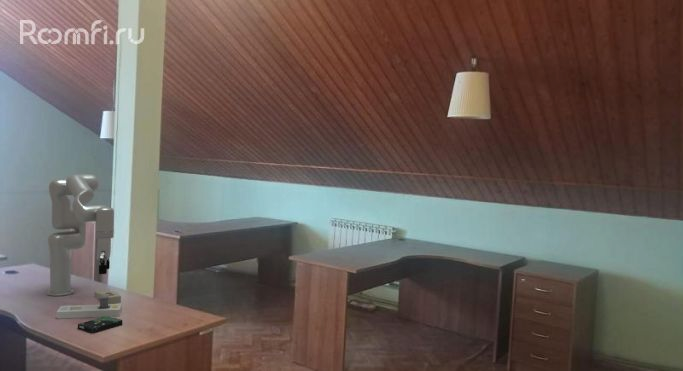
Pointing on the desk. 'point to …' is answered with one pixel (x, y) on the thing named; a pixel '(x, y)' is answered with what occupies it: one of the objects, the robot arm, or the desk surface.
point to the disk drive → (99, 324)
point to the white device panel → (88, 311)
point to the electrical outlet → (113, 296)
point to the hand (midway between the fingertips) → (104, 271)
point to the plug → (104, 301)
